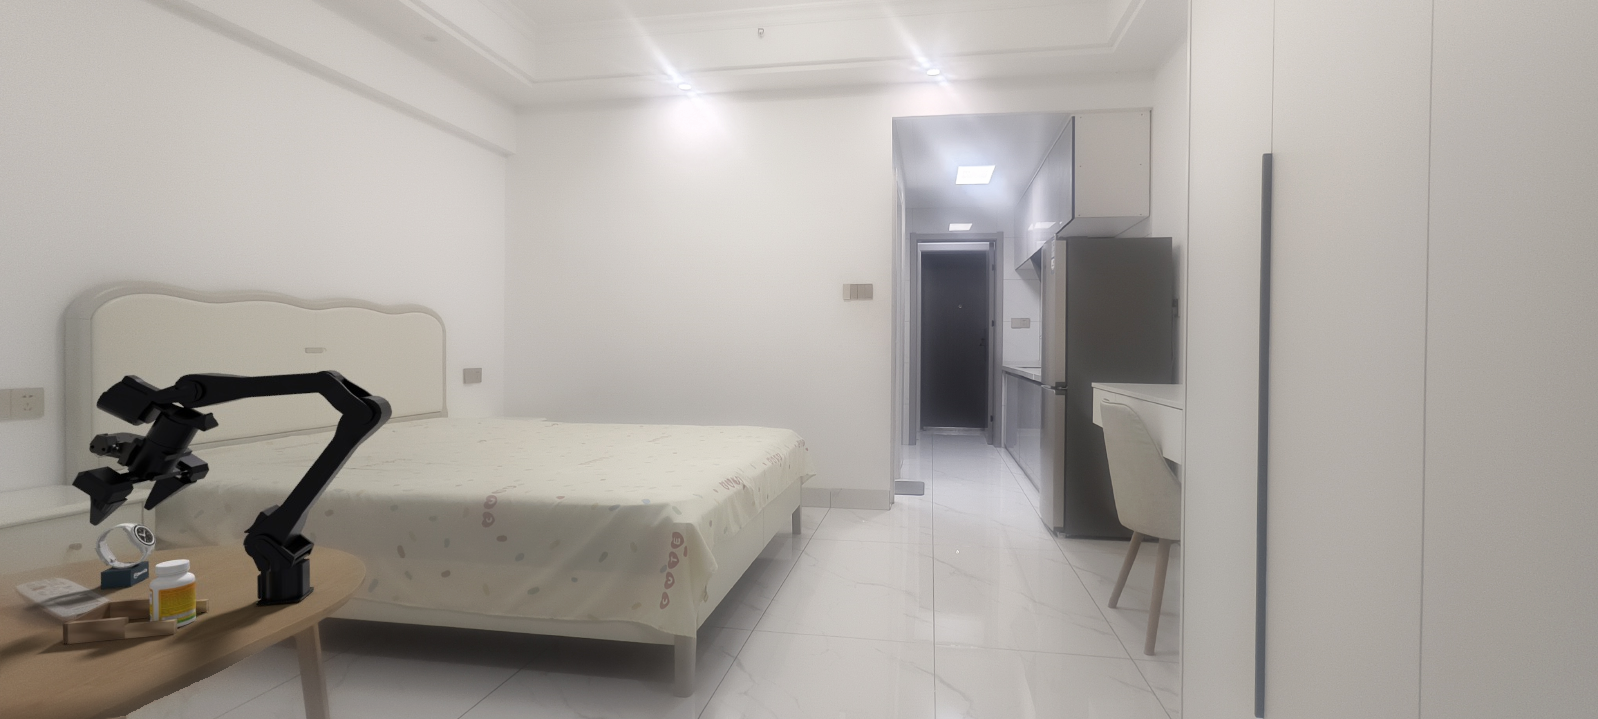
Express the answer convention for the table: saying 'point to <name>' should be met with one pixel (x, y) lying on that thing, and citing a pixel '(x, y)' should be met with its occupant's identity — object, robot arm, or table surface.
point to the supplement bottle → (173, 593)
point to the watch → (126, 572)
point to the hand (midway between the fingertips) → (121, 516)
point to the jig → (120, 622)
